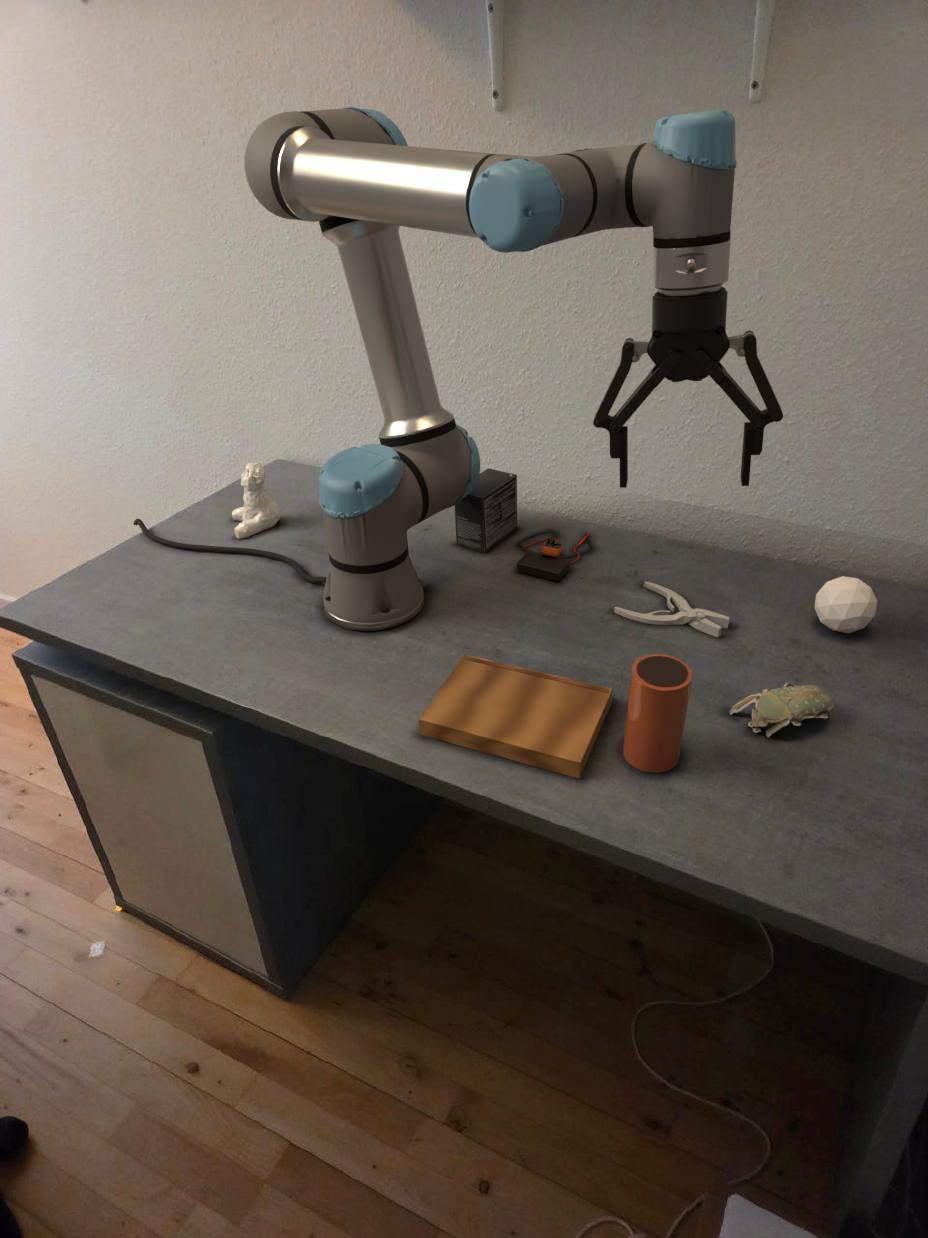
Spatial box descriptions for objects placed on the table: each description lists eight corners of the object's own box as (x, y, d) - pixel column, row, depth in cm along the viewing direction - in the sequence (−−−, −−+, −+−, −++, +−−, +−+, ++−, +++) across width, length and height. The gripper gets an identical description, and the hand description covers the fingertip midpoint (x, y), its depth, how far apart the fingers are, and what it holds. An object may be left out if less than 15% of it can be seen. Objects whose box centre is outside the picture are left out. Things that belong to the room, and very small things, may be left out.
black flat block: (546, 521, 141) (546, 504, 139) (607, 537, 136) (608, 519, 134) (491, 564, 129) (491, 546, 127) (556, 584, 123) (557, 565, 122)
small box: (488, 520, 142) (487, 466, 137) (519, 529, 139) (519, 474, 133) (453, 544, 135) (451, 487, 130) (485, 554, 132) (484, 496, 126)
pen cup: (616, 764, 90) (625, 681, 84) (630, 729, 95) (639, 648, 88) (673, 779, 88) (686, 695, 81) (683, 742, 93) (697, 660, 86)
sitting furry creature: (232, 517, 147) (219, 456, 140) (279, 510, 149) (268, 449, 142) (236, 540, 139) (222, 477, 133) (285, 532, 141) (274, 469, 135)
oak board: (419, 734, 96) (418, 718, 94) (465, 669, 106) (465, 653, 105) (579, 779, 89) (580, 762, 87) (611, 704, 99) (612, 687, 98)
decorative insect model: (738, 678, 101) (751, 652, 97) (824, 710, 98) (840, 685, 95) (724, 728, 95) (737, 703, 92) (815, 763, 93) (832, 739, 89)
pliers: (646, 575, 122) (740, 607, 114) (645, 584, 123) (738, 616, 114) (613, 603, 115) (710, 639, 107) (613, 612, 116) (708, 648, 108)
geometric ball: (821, 635, 115) (816, 580, 115) (883, 631, 110) (877, 574, 111) (812, 635, 108) (806, 578, 109) (877, 631, 104) (871, 570, 104)
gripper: (564, 303, 82) (572, 495, 92) (825, 284, 75) (801, 493, 86) (573, 291, 88) (579, 472, 98) (815, 272, 81) (793, 468, 92)
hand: (683, 482), depth 92 cm, fingers open, 13 cm apart
